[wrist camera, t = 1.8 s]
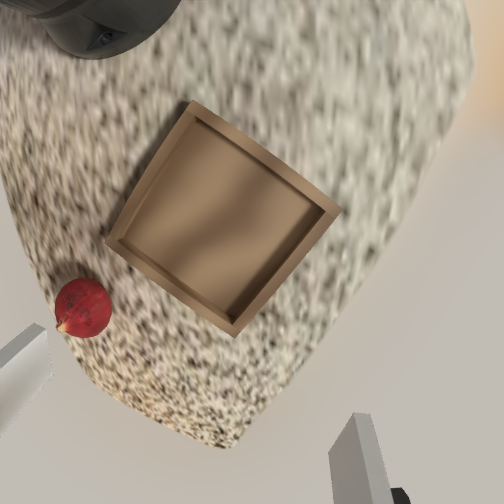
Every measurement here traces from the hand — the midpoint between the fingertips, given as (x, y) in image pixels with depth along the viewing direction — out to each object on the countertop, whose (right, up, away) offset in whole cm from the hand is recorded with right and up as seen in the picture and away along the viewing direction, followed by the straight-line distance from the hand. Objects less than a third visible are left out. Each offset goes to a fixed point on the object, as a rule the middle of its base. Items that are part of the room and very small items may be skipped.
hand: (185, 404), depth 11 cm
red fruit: (-13, +2, +20) cm, 24 cm away
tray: (0, +9, +17) cm, 19 cm away
